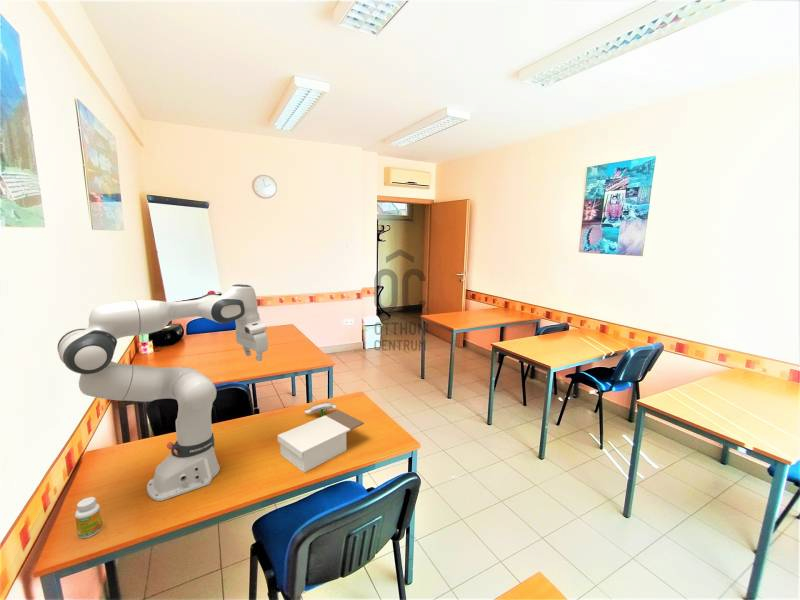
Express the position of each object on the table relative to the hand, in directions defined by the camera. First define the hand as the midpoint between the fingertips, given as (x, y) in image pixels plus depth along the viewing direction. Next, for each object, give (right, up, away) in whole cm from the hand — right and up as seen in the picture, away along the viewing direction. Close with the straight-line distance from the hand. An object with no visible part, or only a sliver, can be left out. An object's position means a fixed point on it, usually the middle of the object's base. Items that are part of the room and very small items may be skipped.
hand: (253, 357), depth 142 cm
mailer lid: (+26, -33, +5) cm, 42 cm away
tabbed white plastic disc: (+19, -35, +35) cm, 53 cm away
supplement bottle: (-32, -45, -38) cm, 67 cm away
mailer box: (+23, -39, +3) cm, 46 cm away
